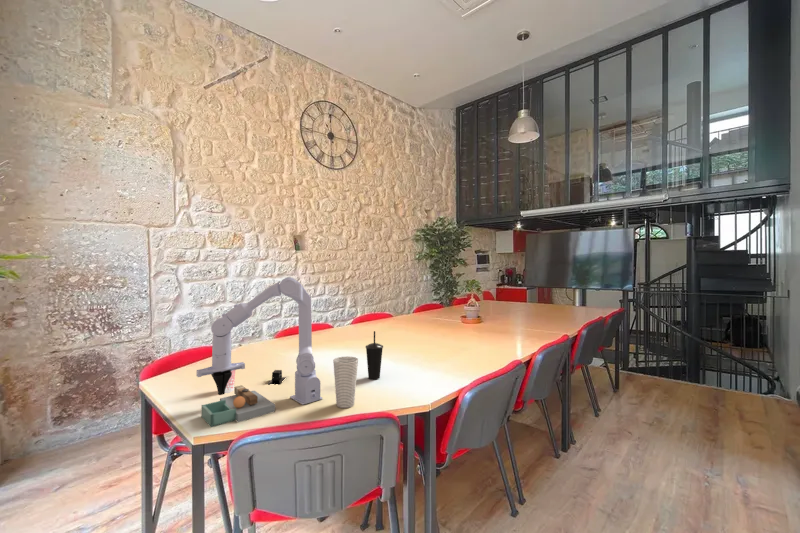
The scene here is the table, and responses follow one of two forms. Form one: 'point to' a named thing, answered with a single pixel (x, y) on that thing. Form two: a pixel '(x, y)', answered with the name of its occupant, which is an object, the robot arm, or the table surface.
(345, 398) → the cup
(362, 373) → the table surface
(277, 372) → the black blocky device
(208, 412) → the teal dish
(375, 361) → the drinking cup
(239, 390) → the lever
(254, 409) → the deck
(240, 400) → the ball
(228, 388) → the beverage cup
